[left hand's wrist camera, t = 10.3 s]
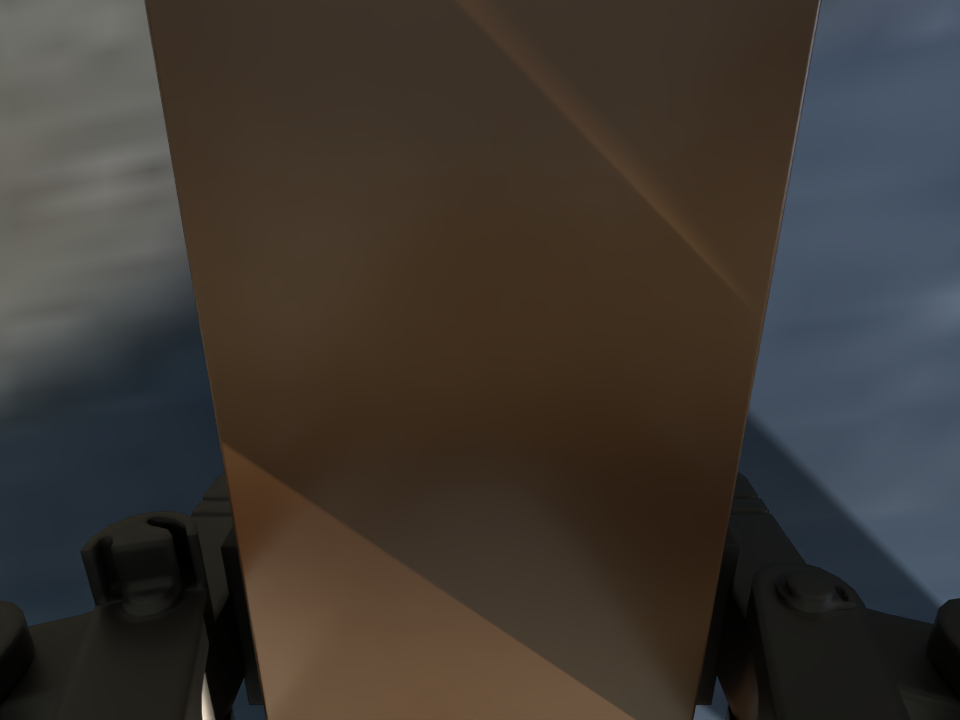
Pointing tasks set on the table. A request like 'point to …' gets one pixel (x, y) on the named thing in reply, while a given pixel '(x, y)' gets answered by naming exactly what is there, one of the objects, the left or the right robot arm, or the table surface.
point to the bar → (481, 332)
